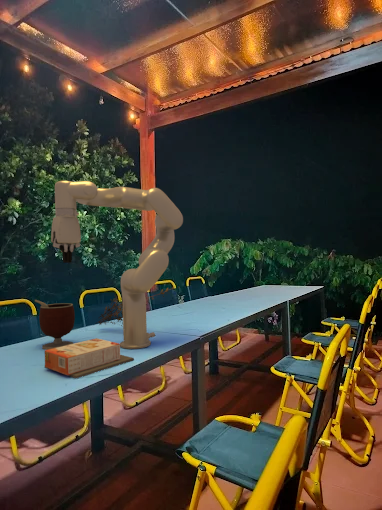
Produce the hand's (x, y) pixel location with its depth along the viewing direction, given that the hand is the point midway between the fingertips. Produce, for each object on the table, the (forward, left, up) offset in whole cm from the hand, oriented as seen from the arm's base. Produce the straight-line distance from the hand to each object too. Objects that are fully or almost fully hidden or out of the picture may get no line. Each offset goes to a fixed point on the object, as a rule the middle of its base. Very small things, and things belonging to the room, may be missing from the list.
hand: (67, 262), depth 136 cm
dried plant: (-41, -11, -35) cm, 56 cm away
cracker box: (+15, +16, -31) cm, 38 cm away
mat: (+2, +16, -35) cm, 39 cm away
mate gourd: (-4, -17, -35) cm, 39 cm away
